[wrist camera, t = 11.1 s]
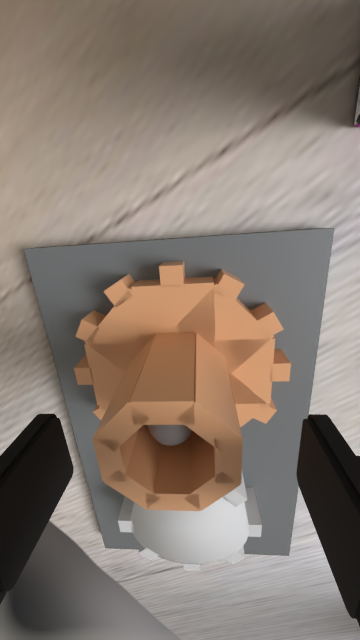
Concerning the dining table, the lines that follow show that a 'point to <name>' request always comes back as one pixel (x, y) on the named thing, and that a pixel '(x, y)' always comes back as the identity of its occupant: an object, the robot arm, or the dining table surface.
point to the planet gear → (178, 384)
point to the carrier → (258, 438)
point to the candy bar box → (357, 108)
